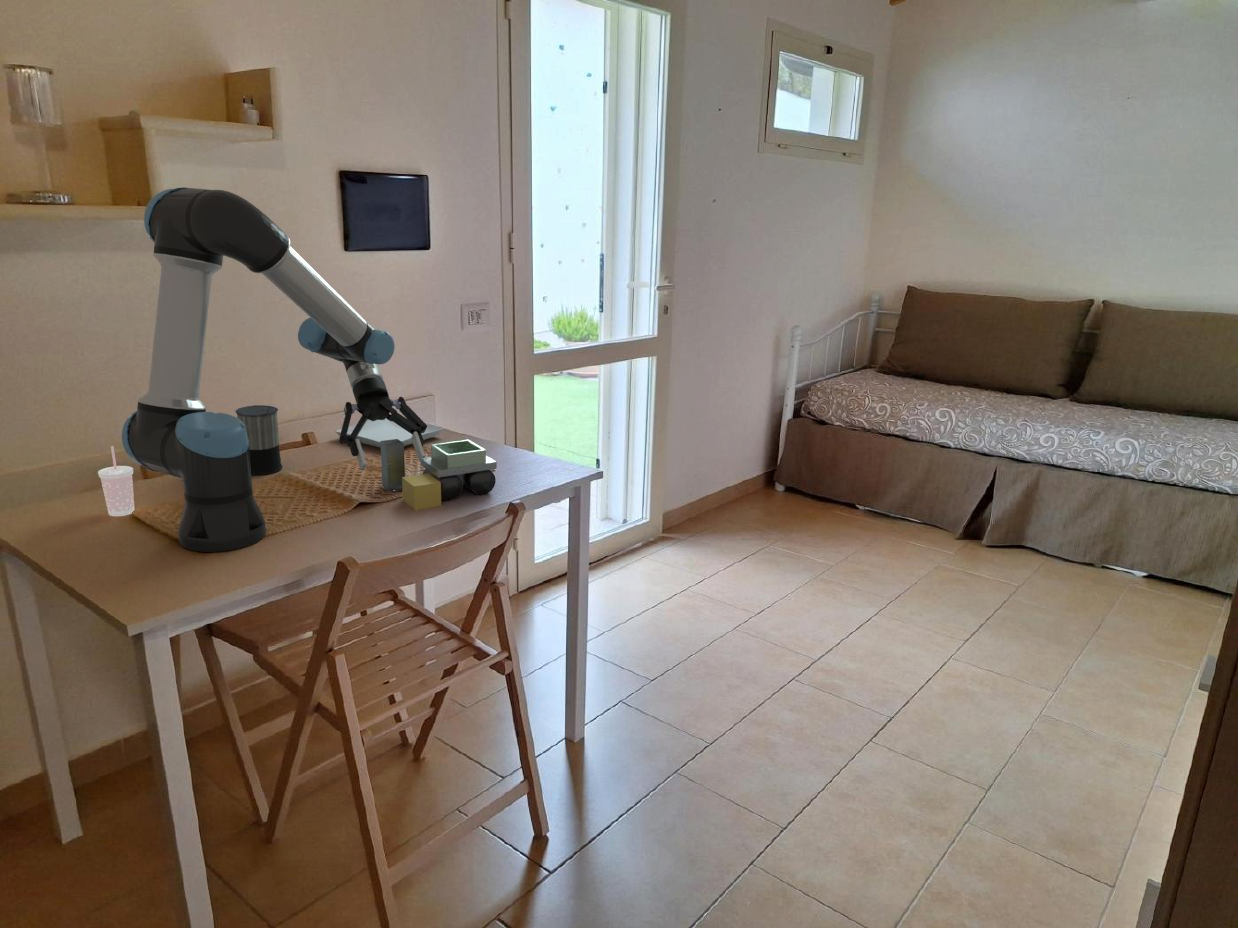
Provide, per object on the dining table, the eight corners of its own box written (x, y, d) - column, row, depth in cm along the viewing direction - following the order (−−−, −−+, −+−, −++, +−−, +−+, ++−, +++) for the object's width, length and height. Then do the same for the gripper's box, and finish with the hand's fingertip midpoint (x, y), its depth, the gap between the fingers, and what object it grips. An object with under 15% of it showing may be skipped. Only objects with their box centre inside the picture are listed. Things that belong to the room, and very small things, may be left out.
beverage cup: (101, 510, 168) (91, 444, 164) (135, 504, 172) (126, 440, 168) (107, 519, 164) (97, 452, 160) (142, 513, 168) (132, 447, 163)
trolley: (438, 503, 181) (437, 457, 177) (421, 489, 188) (420, 445, 185) (496, 493, 188) (496, 449, 185) (477, 480, 196) (477, 438, 193)
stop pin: (388, 492, 186) (386, 445, 183) (382, 487, 189) (380, 441, 186) (405, 489, 188) (403, 443, 185) (399, 484, 191) (397, 438, 188)
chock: (414, 510, 176) (414, 486, 175) (402, 500, 182) (402, 477, 180) (441, 506, 180) (440, 482, 178) (428, 496, 185) (428, 473, 183)
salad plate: (390, 456, 213) (390, 443, 212) (333, 441, 223) (332, 429, 222) (446, 438, 230) (446, 426, 229) (391, 425, 240) (390, 414, 239)
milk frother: (291, 468, 199) (286, 408, 194) (233, 485, 186) (227, 422, 181) (251, 458, 205) (246, 400, 201) (193, 474, 192) (186, 412, 188)
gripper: (316, 380, 184) (341, 462, 177) (422, 371, 198) (449, 447, 191) (311, 398, 190) (335, 479, 183) (414, 388, 203) (440, 463, 196)
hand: (393, 463), depth 187 cm, fingers open, 13 cm apart
